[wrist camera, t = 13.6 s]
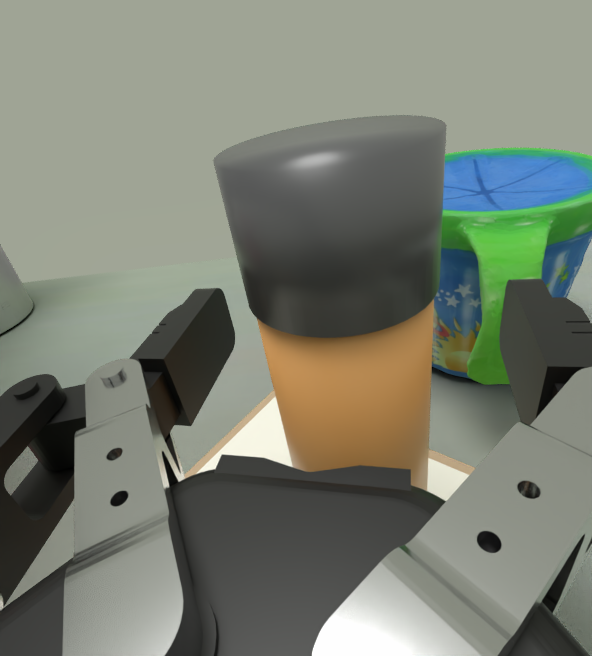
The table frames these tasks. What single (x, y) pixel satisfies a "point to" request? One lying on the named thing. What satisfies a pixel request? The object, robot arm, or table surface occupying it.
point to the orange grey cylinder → (344, 281)
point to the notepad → (270, 442)
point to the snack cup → (504, 245)
